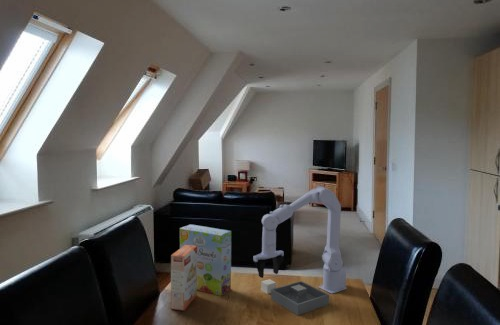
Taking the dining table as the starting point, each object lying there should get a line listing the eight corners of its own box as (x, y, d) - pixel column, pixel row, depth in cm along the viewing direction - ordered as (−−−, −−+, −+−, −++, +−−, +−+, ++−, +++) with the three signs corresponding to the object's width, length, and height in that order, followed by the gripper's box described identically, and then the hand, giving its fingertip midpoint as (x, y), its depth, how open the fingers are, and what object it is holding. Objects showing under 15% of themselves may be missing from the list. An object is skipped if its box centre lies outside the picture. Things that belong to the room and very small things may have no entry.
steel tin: (298, 296, 150) (299, 284, 150) (306, 300, 146) (306, 288, 146) (290, 299, 148) (290, 286, 147) (297, 303, 144) (298, 290, 144)
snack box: (178, 286, 160) (178, 227, 158) (190, 279, 168) (190, 223, 166) (221, 297, 150) (221, 234, 148) (232, 289, 158) (232, 229, 156)
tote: (301, 290, 158) (301, 281, 157) (328, 304, 145) (329, 294, 144) (270, 299, 149) (271, 289, 149) (297, 315, 136) (297, 304, 135)
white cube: (269, 288, 160) (269, 279, 160) (275, 291, 156) (276, 282, 156) (260, 290, 157) (261, 281, 157) (267, 294, 154) (267, 284, 153)
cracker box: (185, 311, 138) (185, 256, 136) (170, 309, 139) (169, 255, 137) (198, 295, 151) (198, 245, 150) (184, 294, 153) (183, 244, 151)
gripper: (276, 238, 163) (276, 268, 164) (249, 243, 155) (248, 275, 156) (287, 242, 157) (286, 273, 158) (259, 247, 149) (258, 281, 150)
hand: (268, 275), depth 156 cm, fingers open, 7 cm apart
